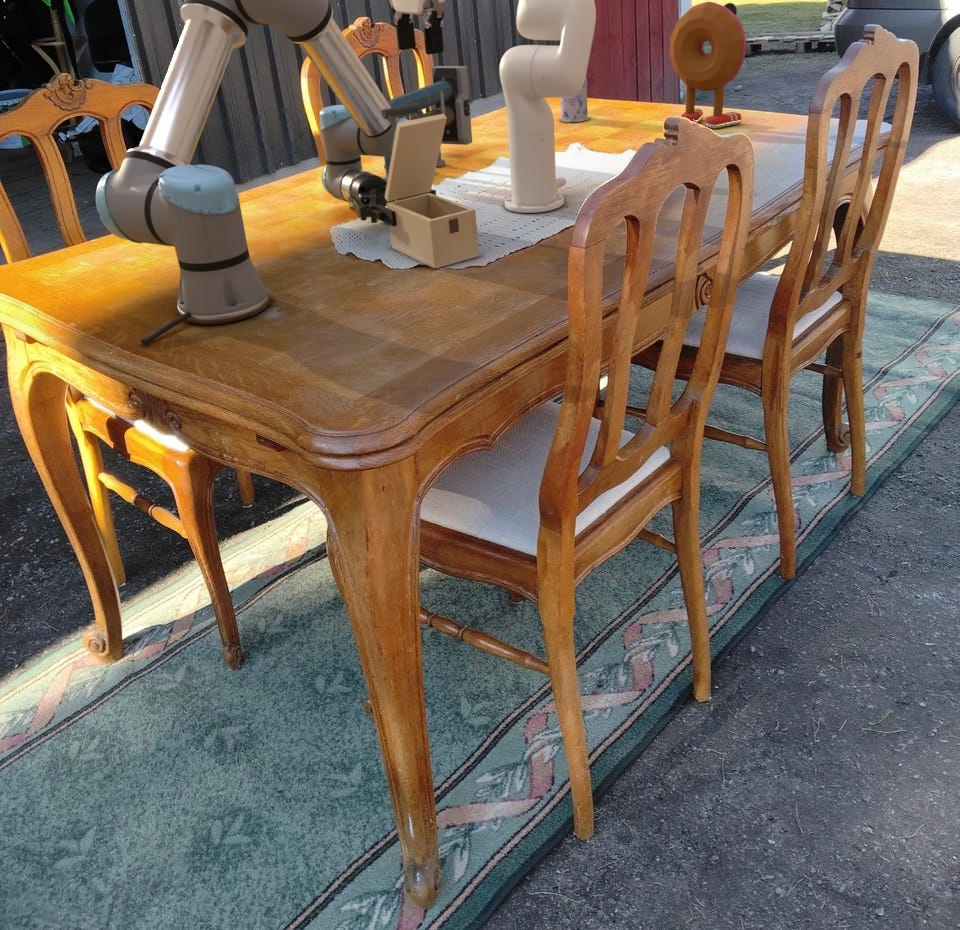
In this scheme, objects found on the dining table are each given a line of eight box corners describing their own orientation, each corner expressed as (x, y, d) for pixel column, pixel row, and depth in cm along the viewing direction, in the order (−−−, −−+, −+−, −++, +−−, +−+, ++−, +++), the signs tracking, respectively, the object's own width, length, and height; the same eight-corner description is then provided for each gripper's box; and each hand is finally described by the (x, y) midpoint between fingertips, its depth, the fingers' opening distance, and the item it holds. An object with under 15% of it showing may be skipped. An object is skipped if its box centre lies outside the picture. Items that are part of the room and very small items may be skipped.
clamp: (400, 190, 224) (389, 93, 213) (369, 188, 228) (356, 93, 217) (473, 154, 250) (466, 66, 239) (444, 152, 254) (436, 66, 243)
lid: (446, 117, 173) (424, 88, 176) (400, 127, 169) (378, 97, 172) (430, 191, 187) (410, 163, 191) (387, 201, 183) (367, 172, 187)
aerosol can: (559, 122, 275) (557, 47, 265) (562, 117, 282) (559, 42, 272) (587, 121, 274) (585, 45, 263) (589, 115, 280) (587, 41, 270)
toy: (751, 123, 256) (760, -2, 241) (731, 131, 250) (739, 4, 235) (683, 117, 270) (686, -2, 254) (662, 124, 263) (664, 3, 248)
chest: (479, 256, 180) (475, 209, 175) (434, 268, 176) (429, 221, 171) (434, 236, 192) (429, 192, 188) (392, 248, 188) (386, 203, 184)
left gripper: (414, 198, 208) (469, 219, 191) (320, 220, 199) (368, 245, 182) (411, 162, 204) (465, 181, 187) (314, 183, 195) (363, 205, 178)
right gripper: (457, -67, 150) (466, 52, 159) (404, -66, 163) (415, 44, 172) (415, -62, 147) (426, 58, 156) (364, -61, 160) (378, 50, 169)
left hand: (418, 213), depth 185 cm, fingers closed on chest, 10 cm apart
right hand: (420, 51), depth 164 cm, fingers open, 9 cm apart
